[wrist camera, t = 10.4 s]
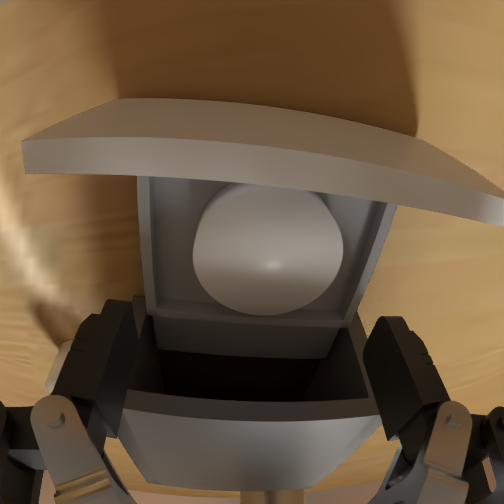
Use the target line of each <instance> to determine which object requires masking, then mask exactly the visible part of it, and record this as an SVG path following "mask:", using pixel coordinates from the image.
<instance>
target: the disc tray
mask: <svg viewBox="0 0 504 504" xmlns="http://www.w3.org/2000/svg"><path fill="white" fill-rule="evenodd" d="M21 142H22V152H23V161H24V169H25V174H109V175H136V176H137V199H138V220H139V236H140V249H141V261H142V271H143V281H144V290H145V299H146V307H147V315H152V316H153V321H154V329H155V336H156V343H157V349H164V350H173V351H183V352H193V353H204V354H216V355H230V356H246V357H268V358H326V357H327V355H328V353H329V351H330V349H331V346H332V344H333V342H334V340H335V338H336V335H337V333H338V331H339V329H340V328H349V326H350V324H351V322H352V320H353V317H354V315H355V313H356V311H357V308H358V306H359V304H360V302H361V299H362V297H363V295H364V292H365V290H366V287H367V285H368V283H369V280H370V278H371V275H372V273H373V270H374V268H375V265H376V263H377V260H378V258H379V255H380V252H381V250H382V247H383V244H384V242H385V239H386V236H387V233H388V231H389V228H390V225H391V222H392V219H393V216H394V213H395V211H396V208H397V205H403V206H408V207H413V208H419V209H424V210H429V211H434V212H439V213H444V214H449V215H453V216H458V217H462V218H467V219H471V220H476V221H480V222H484V223H489V224H493V225H497V226H501V227H504V191H503V190H501V189H500V188H499V187H497V186H496V185H494V184H493V183H492V182H490V181H489V180H487V179H486V178H484V177H483V176H482V175H480V174H479V173H477V172H476V171H474V170H473V169H471V168H469V167H468V166H466V165H465V164H463V163H462V162H460V161H458V160H457V159H455V158H454V157H452V156H450V155H449V154H447V153H445V152H444V151H442V150H440V149H438V148H437V147H435V146H433V145H432V144H430V143H428V142H426V141H424V140H422V139H419V138H415V137H412V136H408V135H405V134H401V133H398V132H394V131H391V130H387V129H383V128H379V127H375V126H371V125H367V124H363V123H358V122H354V121H349V120H345V119H340V118H335V117H330V116H325V115H320V114H314V113H309V112H303V111H297V110H290V109H284V108H277V107H269V106H262V105H253V104H244V103H234V102H223V101H210V100H193V99H166V98H126V99H117V100H114V101H111V102H108V103H106V104H103V105H100V106H98V107H95V108H93V109H90V110H88V111H85V112H83V113H80V114H78V115H76V116H73V117H71V118H69V119H66V120H64V121H62V122H60V123H57V124H55V125H53V126H51V127H49V128H47V129H44V130H42V131H40V132H38V133H36V134H34V135H32V136H30V137H28V138H26V139H25V140H23V141H21ZM233 182H236V183H246V184H256V185H265V186H274V187H282V188H291V189H299V190H307V191H314V192H316V193H317V194H318V195H319V196H320V197H321V198H322V200H323V201H324V203H325V204H326V206H327V207H328V209H329V211H330V213H331V214H332V216H333V218H334V220H335V221H336V223H337V225H338V227H339V230H340V232H341V236H342V240H343V257H342V262H341V265H340V268H339V271H338V273H337V275H336V277H335V279H334V280H333V282H332V283H331V284H330V286H329V287H328V288H327V289H326V290H325V291H324V292H323V293H322V294H321V295H320V296H319V297H317V298H316V299H315V300H313V301H312V302H310V303H309V304H307V305H305V306H303V307H301V308H298V309H296V310H293V311H290V312H287V313H282V314H277V315H251V314H246V313H241V312H238V311H235V310H233V309H230V308H228V307H226V306H224V305H222V304H221V303H219V302H218V301H216V300H215V299H214V298H213V297H212V296H210V295H209V294H208V293H207V291H206V290H205V289H204V288H203V286H202V285H201V283H200V281H199V280H198V277H197V275H196V273H195V269H194V265H193V246H194V242H195V237H196V233H197V228H198V224H199V220H200V217H201V215H202V212H203V210H204V209H205V207H206V206H207V204H208V203H209V201H210V200H211V199H212V198H213V197H214V196H215V195H216V194H217V193H218V192H219V191H220V190H222V189H223V188H224V187H226V186H227V185H229V184H231V183H233Z"/></svg>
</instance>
